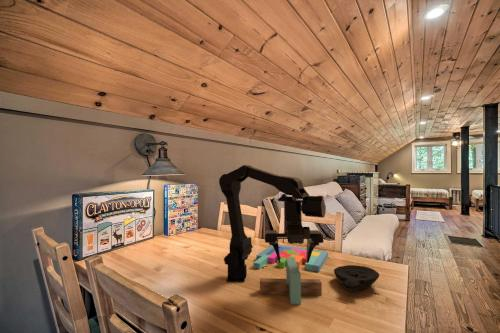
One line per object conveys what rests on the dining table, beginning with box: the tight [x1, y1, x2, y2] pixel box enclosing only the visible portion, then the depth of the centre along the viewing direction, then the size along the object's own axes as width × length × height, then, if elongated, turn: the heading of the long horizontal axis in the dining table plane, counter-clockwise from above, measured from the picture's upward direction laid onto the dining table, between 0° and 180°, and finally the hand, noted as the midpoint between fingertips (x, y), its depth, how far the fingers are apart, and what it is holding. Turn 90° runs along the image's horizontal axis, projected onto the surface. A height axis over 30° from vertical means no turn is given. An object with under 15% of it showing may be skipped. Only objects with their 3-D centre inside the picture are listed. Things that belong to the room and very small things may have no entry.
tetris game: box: [253, 244, 329, 273], centre depth 108 cm, size 28×3×28 cm
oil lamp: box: [333, 264, 380, 292], centre depth 84 cm, size 15×20×5 cm
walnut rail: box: [259, 277, 323, 296], centre depth 80 cm, size 20×2×4 cm, turn 87°
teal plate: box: [285, 258, 302, 305], centre depth 80 cm, size 14×3×9 cm, turn 177°
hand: (293, 262), depth 80 cm, fingers open, 9 cm apart
